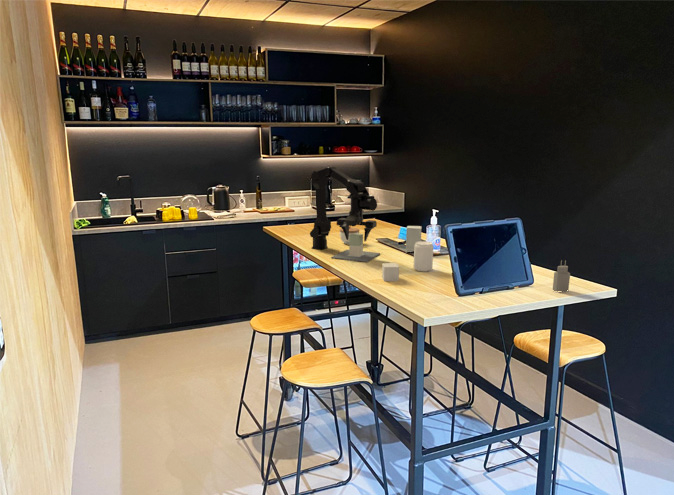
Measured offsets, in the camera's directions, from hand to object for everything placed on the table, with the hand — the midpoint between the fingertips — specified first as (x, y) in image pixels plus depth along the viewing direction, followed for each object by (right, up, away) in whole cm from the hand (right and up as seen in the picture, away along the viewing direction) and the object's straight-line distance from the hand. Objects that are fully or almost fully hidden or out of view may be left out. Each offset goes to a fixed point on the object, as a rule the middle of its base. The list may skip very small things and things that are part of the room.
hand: (356, 240), depth 242 cm
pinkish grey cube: (+13, -16, -36) cm, 42 cm away
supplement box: (+29, -6, +12) cm, 32 cm away
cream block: (0, -7, +2) cm, 7 cm away
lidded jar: (-3, -1, +31) cm, 31 cm away
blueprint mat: (0, -8, +2) cm, 8 cm away
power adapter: (+76, -20, -51) cm, 93 cm away
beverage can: (+28, -13, -22) cm, 38 cm away
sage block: (0, -2, 0) cm, 2 cm away
